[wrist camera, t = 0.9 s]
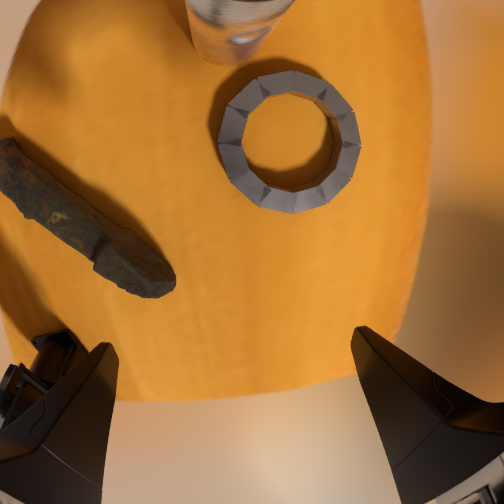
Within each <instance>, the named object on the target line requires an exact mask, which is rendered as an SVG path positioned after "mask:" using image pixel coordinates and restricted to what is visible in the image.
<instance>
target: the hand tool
mask: <svg viewBox="0 0 504 504" xmlns="http://www.w3.org/2000/svg"><path fill="white" fill-rule="evenodd" d="M0 191H1V192H2V193H3V194H4V195H5V196H7V197H8V198H9V199H11V200H12V201H13V202H14V203H15V204H16V206H17V207H18V209H19V211H20V212H22V213H23V214H24V218H27V219H35V220H36V221H37V222H38V223H40V224H41V225H42V226H44V227H45V228H46V229H48V230H49V231H51V232H52V233H53V234H54V235H55V236H57V237H58V238H60V239H61V240H62V241H64V242H65V243H66V244H68V245H69V246H71V247H72V248H74V249H76V250H77V251H79V252H80V253H82V254H83V255H84V256H86V257H87V258H88V259H89V260H90V261H92V262H94V266H93V270H94V271H95V272H97V273H98V274H100V275H101V276H102V277H104V278H105V279H108V280H110V281H112V282H114V283H115V284H116V285H117V286H118V287H119V288H122V289H125V290H126V291H127V292H129V293H131V294H135V295H138V296H140V297H142V298H160V297H161V296H164V295H166V294H167V293H169V292H171V291H173V290H174V288H175V286H176V275H175V273H174V272H173V270H172V269H171V268H170V267H169V265H168V264H167V263H166V262H165V261H164V260H163V259H162V258H161V257H160V256H159V255H158V254H157V253H156V252H155V251H154V250H153V249H152V248H151V247H149V246H148V245H147V244H145V243H144V242H143V241H142V240H141V239H140V238H139V237H138V236H137V235H136V234H135V233H134V232H133V231H131V230H130V229H128V228H124V229H122V228H120V227H118V226H117V225H115V224H114V223H112V222H111V221H109V220H108V219H107V218H105V217H104V216H103V215H101V214H100V213H99V212H98V211H96V210H95V209H94V208H92V207H91V206H90V205H88V204H87V203H86V202H85V201H84V200H83V199H82V198H81V197H79V196H78V195H76V194H75V193H73V192H71V191H70V190H68V189H67V188H66V187H65V186H63V185H62V184H61V183H60V182H58V181H57V180H56V179H55V178H54V177H53V176H52V175H50V174H49V173H48V172H47V171H46V170H45V169H44V168H42V167H40V166H38V165H37V164H36V163H35V162H33V161H32V160H30V159H29V158H28V157H27V156H25V155H24V154H22V153H21V152H20V151H19V150H18V148H17V141H16V139H15V138H14V137H12V138H5V139H1V140H0Z"/></svg>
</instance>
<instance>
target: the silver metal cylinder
mask: <svg viewBox="0 0 504 504" xmlns="http://www.w3.org/2000/svg"><path fill="white" fill-rule="evenodd" d="M294 1H295V0H185V4H186V9H187V15H188V20H189V25H190V30H191V36H192V41H193V45H194V48H195V50H196V51H197V53H198V54H199V55H200V56H201V57H202V58H203V59H205V60H206V61H208V62H210V63H212V64H215V65H220V66H235V65H239V64H242V63H245V62H247V61H248V60H250V59H251V58H253V57H254V56H255V55H256V54H257V53H258V51H259V50H260V48H261V47H262V45H263V44H264V43H265V41H266V40H267V38H268V37H269V35H270V34H271V32H272V31H273V30H274V28H275V27H276V25H277V24H278V23H279V21H280V20H281V18H282V17H283V16H284V14H285V13H286V12H287V10H288V9H289V8H290V6H291V5H292V4H293V2H294Z"/></svg>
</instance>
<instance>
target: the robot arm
mask: <svg viewBox="0 0 504 504" xmlns="http://www.w3.org/2000/svg"><path fill="white" fill-rule="evenodd" d="M31 342H32V344H33V345H34V346H35V348H36V349H37V350H38V353H37V355H36V357H35V359H34V361H33V363H32V365H31V367H30V369H29V370H28V369H27V368H26V367H25V365H24V364H23V363H21V362H20V364H19V365H18V366H17V365H13V364H10V365H9V367H8V369H7V371H6V372H5V374H4V376H3V378H2V380H1V382H0V504H101V500H102V486H103V476H104V467H105V458H106V451H107V444H108V437H109V430H110V425H111V419H112V413H113V407H114V403H115V397H116V387H117V376H118V367H119V359H118V356H117V354H116V352H115V349H114V347H113V345H112V344H111V343H109V342H101V343H100V344H98V345H97V346H96V347H95V348H94V349H93V350H92V351H91V352H90V353H88V354H86V352H85V351H84V350H83V348H82V347H81V346H80V344H79V343H78V342H77V340H76V339H75V338H74V336H73V335H72V334H71V332H70V331H69V330H67V329H63V330H59V331H56V332H52V333H48V334H45V335H41V336H37V337H34V338H33V339H32V341H31ZM351 351H352V354H353V358H354V362H355V365H356V369H357V373H358V377H359V381H360V383H361V386H362V389H363V391H364V394H365V397H366V399H367V402H368V405H369V407H370V410H371V413H372V415H373V418H374V421H375V424H376V426H377V429H378V432H379V435H380V438H381V441H382V444H383V447H384V449H385V452H386V455H387V458H388V461H389V464H390V467H391V470H392V474H393V477H394V480H395V484H396V487H397V490H398V493H399V496H400V500H401V503H402V504H425V503H427V502H429V501H431V500H433V499H435V500H436V503H437V504H504V402H499V403H491V402H486V401H483V400H481V399H479V398H477V397H475V396H473V395H472V394H470V393H468V392H466V391H464V390H462V389H461V388H459V387H457V386H455V385H454V384H452V383H450V382H449V381H447V380H445V379H444V378H442V377H441V376H439V375H438V374H436V373H435V372H432V370H430V369H429V368H427V367H426V366H424V365H423V364H422V363H420V362H418V361H417V360H416V359H414V358H412V357H411V356H410V355H408V354H407V353H405V352H404V351H402V350H401V349H399V348H398V347H397V346H395V345H394V344H392V343H391V342H389V341H388V340H386V339H385V338H383V337H382V336H380V335H379V334H377V333H376V332H374V331H373V330H372V329H370V328H369V327H367V326H359V327H356V328H355V329H354V332H353V336H352V340H351Z"/></svg>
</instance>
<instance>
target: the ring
mask: <svg viewBox="0 0 504 504" xmlns="http://www.w3.org/2000/svg"><path fill="white" fill-rule="evenodd" d="M288 93H289V94H292V95H296V96H299V97H302V98H305V99H308V100H311V101H313V102H314V103H315V104H316V105H317V107H318V108H319V109H320V110H321V111H322V112H323V113H324V114H325V115H326V116H327V118H328V119H329V121H330V125H331V130H332V134H333V138H334V146H333V150H332V153H331V157H330V161H329V164H328V166H327V167H326V168H325V169H324V170H323V171H322V172H321V173H320V174H319V175H318V176H317V177H316V178H315V179H314V180H313V181H312V182H310V183H307V184H303V185H300V186H296V187H293V188H289V189H287V188H283V187H279V186H275V185H271V184H266V183H264V182H263V181H262V180H261V179H260V178H259V177H258V176H257V175H256V174H254V173H253V172H252V171H251V170H250V169H249V167H248V164H247V160H246V157H245V153H244V150H243V147H242V143H241V141H242V137H243V133H244V129H245V125H246V121H247V118H248V115H249V114H250V113H251V112H252V111H253V110H254V109H255V108H256V107H257V106H258V105H259V104H260V103H262V102H263V101H264V100H265V99H266V98H269V97H274V96H278V95H283V94H288ZM351 111H353V109H352V108H351V106H350V105H349V104H348V103H347V102H346V100H345V99H344V98H343V97H342V96H341V95H340V94H339V92H338V91H337V90H336V89H335V88H334V87H333V86H332V85H331V84H329V82H327V81H324V80H321V79H319V78H316V77H313V76H310V75H308V74H305V73H302V72H299V71H296V70H295V71H294V72H293V70H291V71H285V72H280V73H275V74H270V75H265V76H260V77H257V78H256V79H254V80H252V81H251V82H250V83H249V84H248V85H247V86H246V87H245V88H244V89H243V90H242V91H241V92H240V93H239V94H237V95H236V96H235V97H234V98H233V99H232V100H231V101H230V102H229V103H228V104H227V106H226V108H225V111H224V115H223V119H222V123H221V127H220V131H219V135H218V139H217V142H220V143H218V144H217V145H218V148H219V151H220V154H221V157H222V160H223V164H224V167H225V170H226V173H227V176H228V179H229V180H230V182H231V183H232V184H233V185H234V186H235V187H236V188H238V189H239V190H240V191H241V192H242V193H243V194H244V195H245V196H247V197H248V198H249V199H250V200H251V201H252V202H253V203H254V204H255V205H258V206H259V207H262V208H267V209H272V210H276V211H281V212H286V213H290V214H292V213H294V214H296V213H299V212H302V211H306V210H309V209H312V208H316V207H319V206H322V205H326V202H327V203H329V202H330V201H331V200H332V199H333V198H334V197H335V196H336V195H337V194H338V193H339V192H340V191H341V190H342V189H343V188H344V187H345V185H346V184H347V183H348V182H349V181H350V180H351V179H350V178H352V176H353V173H354V170H355V166H356V163H357V160H358V156H359V153H360V149H361V146H358V145H361V141H360V136H359V131H358V126H357V122H356V117H355V113H354V112H351ZM349 177H350V178H349Z"/></svg>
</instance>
